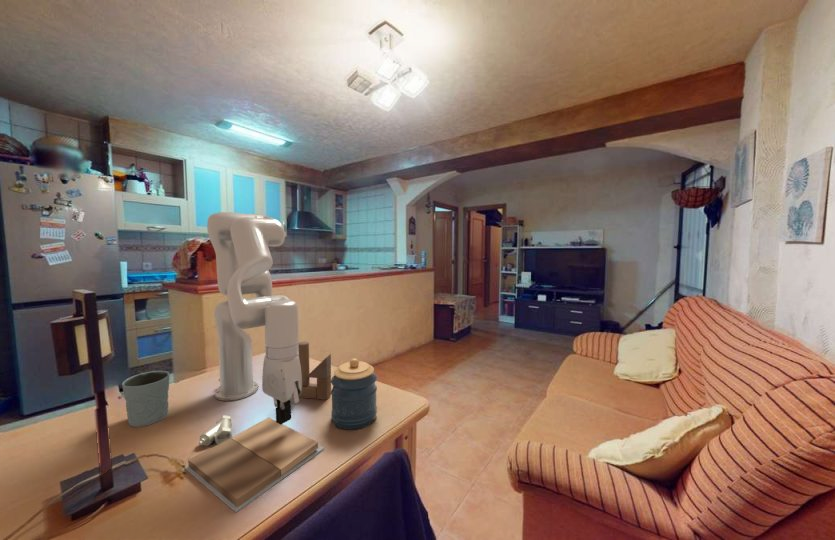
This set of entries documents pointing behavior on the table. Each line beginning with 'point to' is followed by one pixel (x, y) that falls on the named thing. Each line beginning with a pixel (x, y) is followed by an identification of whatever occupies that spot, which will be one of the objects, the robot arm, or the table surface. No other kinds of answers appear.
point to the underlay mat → (258, 492)
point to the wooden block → (314, 375)
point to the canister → (354, 395)
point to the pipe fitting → (217, 432)
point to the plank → (276, 444)
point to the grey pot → (146, 397)
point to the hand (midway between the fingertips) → (283, 420)
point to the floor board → (234, 471)
